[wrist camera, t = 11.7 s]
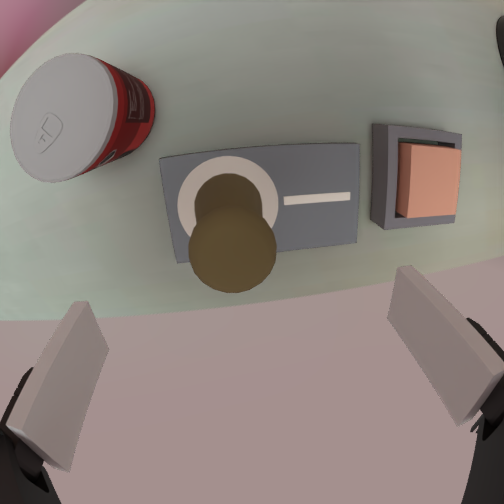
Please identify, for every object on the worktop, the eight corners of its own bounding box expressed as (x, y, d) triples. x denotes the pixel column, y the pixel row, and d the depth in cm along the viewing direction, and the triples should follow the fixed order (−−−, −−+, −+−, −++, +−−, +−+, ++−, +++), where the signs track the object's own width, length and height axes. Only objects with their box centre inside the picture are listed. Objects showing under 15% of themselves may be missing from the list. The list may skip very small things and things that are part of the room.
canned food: (69, 144, 22) (-3, 163, 12) (101, 66, 20) (37, 42, 10) (135, 171, 24) (85, 203, 14) (171, 90, 22) (138, 68, 12)
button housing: (444, 131, 25) (461, 134, 22) (438, 214, 29) (454, 222, 27) (372, 123, 24) (388, 125, 22) (370, 219, 29) (384, 229, 26)
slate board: (354, 143, 25) (359, 144, 24) (352, 239, 29) (356, 243, 28) (161, 157, 24) (158, 159, 23) (178, 258, 28) (176, 263, 27)
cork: (212, 248, 27) (210, 323, 17) (182, 191, 25) (156, 239, 15) (272, 221, 27) (304, 284, 17) (245, 161, 24) (264, 188, 14)
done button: (443, 145, 24) (461, 149, 22) (438, 205, 27) (455, 214, 24) (393, 141, 24) (411, 145, 21) (391, 208, 27) (407, 218, 24)
